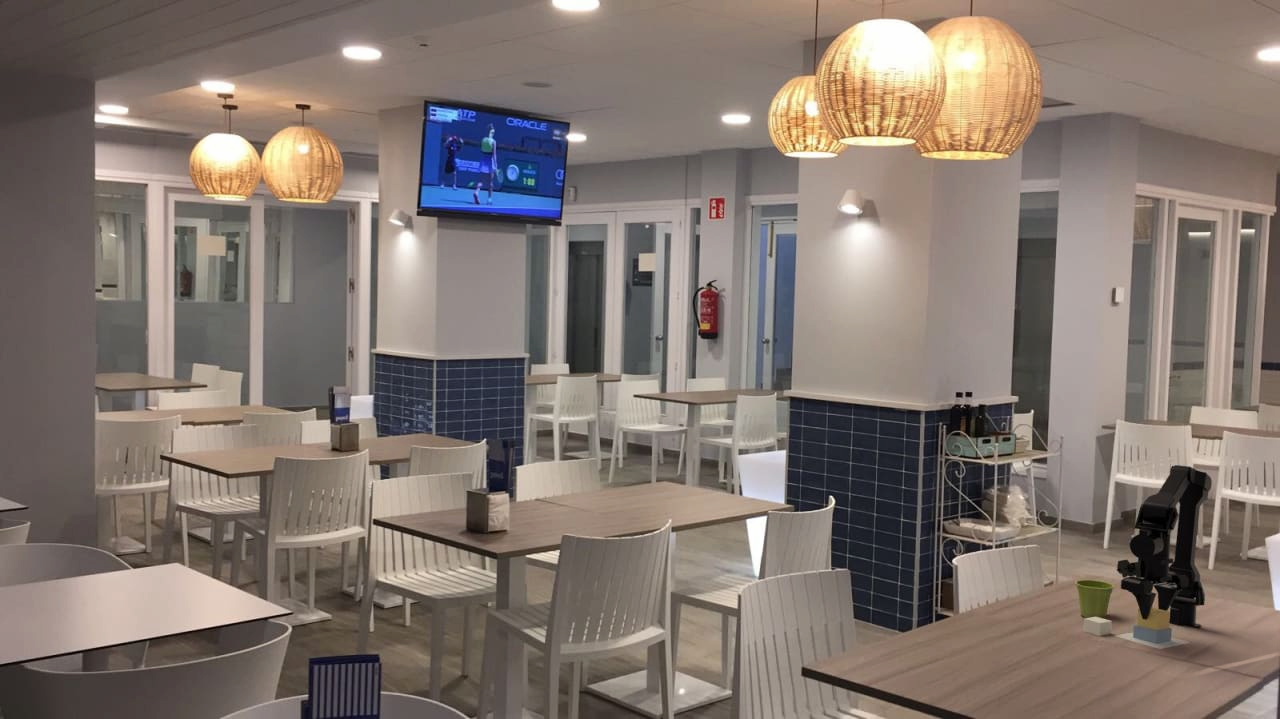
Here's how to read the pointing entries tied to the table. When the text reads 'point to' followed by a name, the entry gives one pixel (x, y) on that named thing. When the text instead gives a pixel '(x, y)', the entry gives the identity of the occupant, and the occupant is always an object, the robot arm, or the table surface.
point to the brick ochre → (1155, 619)
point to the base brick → (1152, 634)
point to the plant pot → (1094, 597)
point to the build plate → (1160, 645)
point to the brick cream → (1097, 626)
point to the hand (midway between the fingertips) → (1153, 617)
